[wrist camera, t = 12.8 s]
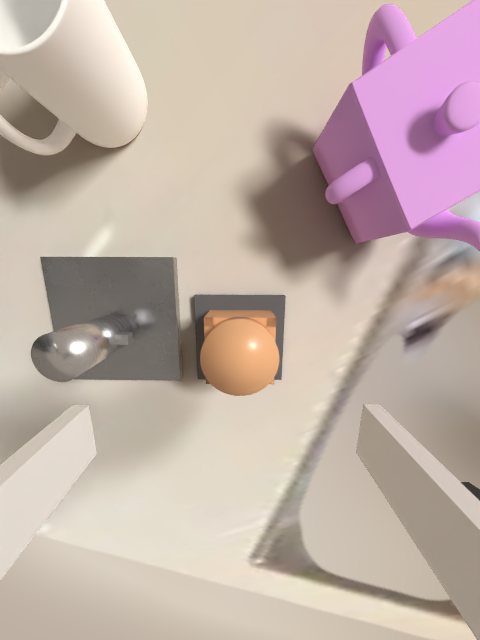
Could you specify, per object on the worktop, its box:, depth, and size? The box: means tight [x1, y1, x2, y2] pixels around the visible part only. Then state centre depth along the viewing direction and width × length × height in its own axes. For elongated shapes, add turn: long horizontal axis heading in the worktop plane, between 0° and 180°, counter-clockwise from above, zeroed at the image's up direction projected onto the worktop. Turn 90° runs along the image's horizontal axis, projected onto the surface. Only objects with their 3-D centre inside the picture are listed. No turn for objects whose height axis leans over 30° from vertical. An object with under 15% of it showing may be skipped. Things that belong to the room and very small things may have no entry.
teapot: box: [312, 0, 480, 251], centre depth 18 cm, size 18×14×10 cm
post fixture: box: [31, 257, 183, 382], centre depth 21 cm, size 14×14×9 cm
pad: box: [194, 295, 285, 380], centre depth 26 cm, size 10×10×1 cm
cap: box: [200, 310, 279, 396], centre depth 22 cm, size 7×7×6 cm
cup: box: [0, 0, 147, 155], centre depth 17 cm, size 8×12×10 cm
